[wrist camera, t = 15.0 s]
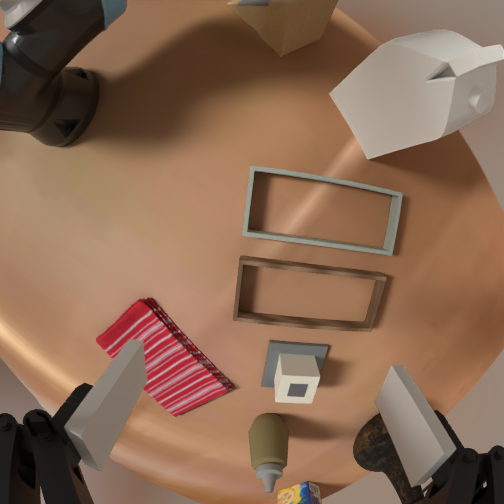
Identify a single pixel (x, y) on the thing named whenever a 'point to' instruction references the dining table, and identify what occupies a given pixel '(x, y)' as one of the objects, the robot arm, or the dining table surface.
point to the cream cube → (296, 378)
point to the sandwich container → (286, 21)
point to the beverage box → (300, 494)
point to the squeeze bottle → (268, 448)
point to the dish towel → (166, 358)
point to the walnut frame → (310, 322)
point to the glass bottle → (384, 459)
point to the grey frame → (385, 250)
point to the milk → (417, 90)
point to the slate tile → (289, 348)
